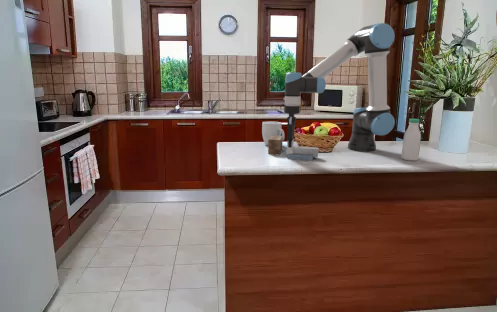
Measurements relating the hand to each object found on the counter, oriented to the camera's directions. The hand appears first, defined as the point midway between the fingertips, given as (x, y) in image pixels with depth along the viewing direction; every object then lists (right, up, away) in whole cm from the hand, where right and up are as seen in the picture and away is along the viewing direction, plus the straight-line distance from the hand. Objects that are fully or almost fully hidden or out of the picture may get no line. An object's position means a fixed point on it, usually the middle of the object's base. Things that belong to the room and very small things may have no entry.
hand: (290, 152), depth 176 cm
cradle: (+5, -3, 0) cm, 6 cm away
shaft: (+6, -2, -1) cm, 6 cm away
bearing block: (-6, 0, +12) cm, 13 cm away
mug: (-7, +4, +30) cm, 31 cm away
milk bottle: (+59, -4, 0) cm, 59 cm away
